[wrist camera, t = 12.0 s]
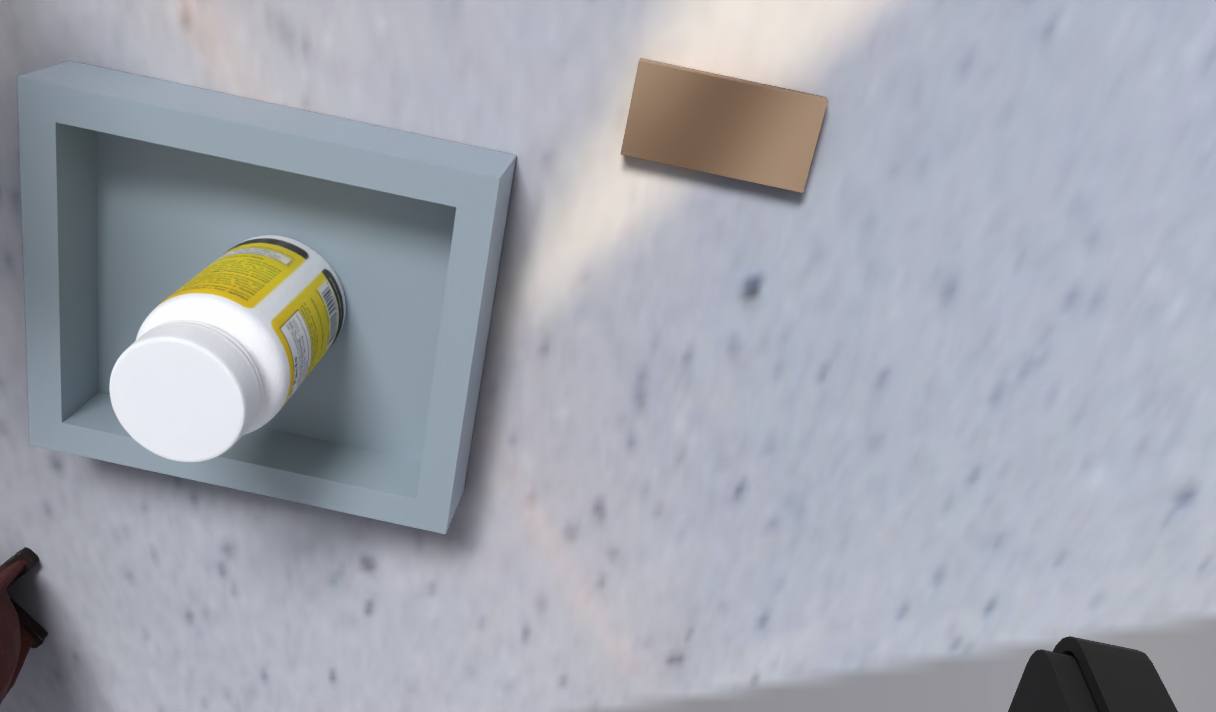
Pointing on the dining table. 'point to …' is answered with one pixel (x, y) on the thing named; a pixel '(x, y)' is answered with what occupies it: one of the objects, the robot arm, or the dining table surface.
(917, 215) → the dining table surface
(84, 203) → the tray
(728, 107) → the walnut pad
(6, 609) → the mate gourd
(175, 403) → the supplement bottle
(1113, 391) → the dining table surface
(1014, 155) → the dining table surface
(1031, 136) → the dining table surface
